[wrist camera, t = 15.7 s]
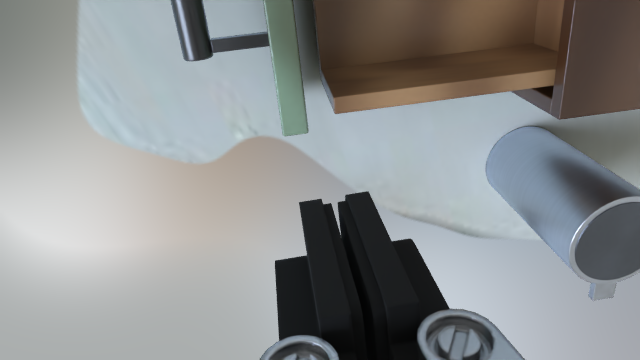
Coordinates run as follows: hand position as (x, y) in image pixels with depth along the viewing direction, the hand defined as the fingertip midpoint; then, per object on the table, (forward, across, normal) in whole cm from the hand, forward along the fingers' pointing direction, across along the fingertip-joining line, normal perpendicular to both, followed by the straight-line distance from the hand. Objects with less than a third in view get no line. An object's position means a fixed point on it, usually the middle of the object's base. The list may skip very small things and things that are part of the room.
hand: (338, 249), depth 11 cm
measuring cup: (+18, -15, +8) cm, 25 cm away
